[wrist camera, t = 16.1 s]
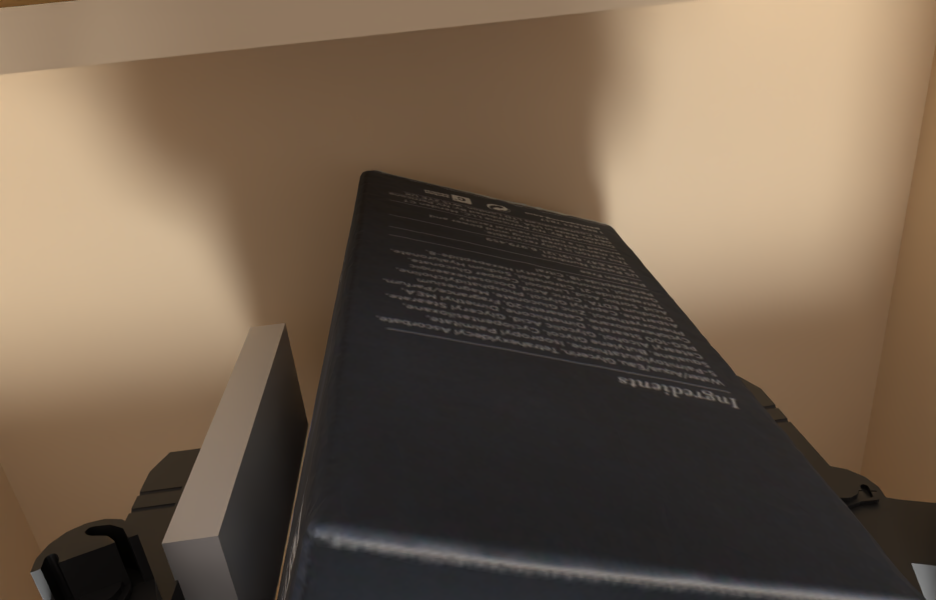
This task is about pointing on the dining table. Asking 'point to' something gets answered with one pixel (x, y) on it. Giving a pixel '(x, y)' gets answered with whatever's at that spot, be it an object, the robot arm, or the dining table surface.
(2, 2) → the dining table surface
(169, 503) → the robot arm
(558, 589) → the box
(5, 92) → the carton
